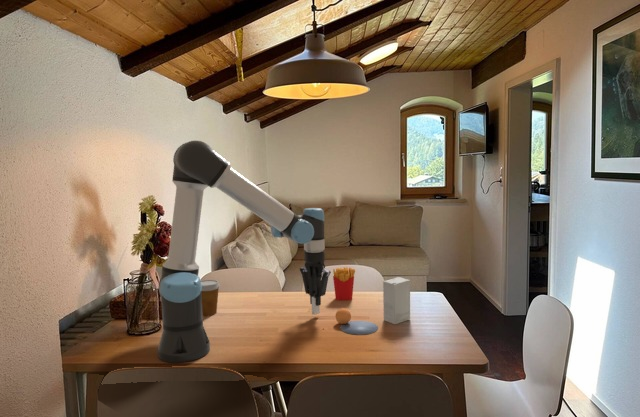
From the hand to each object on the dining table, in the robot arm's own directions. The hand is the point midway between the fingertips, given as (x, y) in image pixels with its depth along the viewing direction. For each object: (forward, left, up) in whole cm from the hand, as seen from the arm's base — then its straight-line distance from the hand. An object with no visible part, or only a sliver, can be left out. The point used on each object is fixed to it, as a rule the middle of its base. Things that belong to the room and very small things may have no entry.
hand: (315, 313), depth 169 cm
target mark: (0, -19, -1) cm, 19 cm away
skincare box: (+14, -26, -2) cm, 30 cm away
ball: (0, -12, +1) cm, 12 cm away
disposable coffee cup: (-20, +37, -2) cm, 42 cm away
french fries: (+25, +4, -2) cm, 25 cm away
